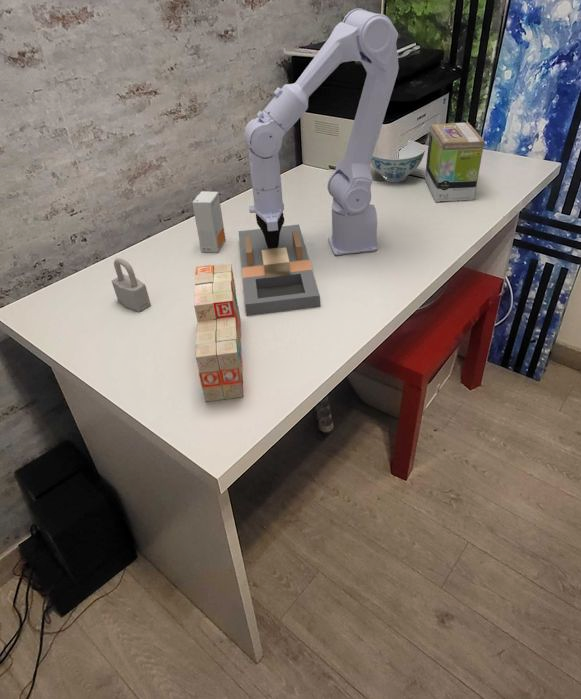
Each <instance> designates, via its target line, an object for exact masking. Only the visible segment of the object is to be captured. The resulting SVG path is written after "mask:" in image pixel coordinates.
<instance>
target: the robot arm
mask: <svg viewBox="0 0 581 699" xmlns="http://www.w3.org/2000/svg"><path fill="white" fill-rule="evenodd" d="M398 38H399V32H398V31H397V29H396V27H395V26H394V24H393V22H392V21H391V19H390V18H389V17H388V16H387V15H386V14H382V13H375V12H372V11H368V10H366V9H365V8H361V7H359V8H358V7H357V8H354V9H351V10H349V12H348V13H347V14H346V15H345V16H344V17H343V20H342V21H340V22H339V23H337V24H336V25H335V27H334V28H333V30H332V32H331V34H330V36H329V37H328V38H327V40H326V41H325V42H324V43H323V45H322V47H321V48H320V49H319V51H318V52H317V53H316V54H315V56H314V57H313V58H312V60H311V61H310V62H309V64H308V65H307V66H306V67H305V69H304V70H303V72H302V73H301V75H300V76H299V77H298V78H297V80H296V81H295V82H294V83H287V84H284V85H283V86H282V87H281V88H280V87H277V88H276V89H275V90H274V92H273V94H274V95H275V96H274V97H272V99H271V100H270V101H269V102H268V104H267V105H266V106H265V107H264V109H263V110H262V111H261V110H259V111H258V112H257V114H256V116H257V117H255V118H252V119H251V120H250V121H249V122H247V124H246V126H245V127H244V132H243V134H242V139H243V141H244V143H245V144H246V145H247V146H248V147H249V148H248V158H249V171H250V178H251V179H250V180H251V186H252V187H251V188H252V197H253V204H254V205H250V206H248V210H249V213H250V214H255V218H256V219H255V221H256V224H257V226H258V227H259V229H261V230H262V232H263V234H264V237H265V241H266V244H267V247H268V249H272V248H278V245H279V237H280V231H281V228H282V226H284V224H285V216H284V210H285V204H284V200H283V188H282V177H281V165H280V159H279V151H280V150H281V149H282V145H283V138H284V136H286V135H287V133H288V132H289V131H290V130H291V129H292V127H293V126H294V125H295V124H296V123H297V121H299V119H300V118H301V117H302V116H303V115H304V113H306V111H307V110H308V109H309V97H310V96H311V95H312V94H313V93H314V92H315V91H316V90H317V89H318V88H319V87H320V86H321V85H322V84H323V82H325V81H326V79H327V78H328V77H329V76H330V75H331V74H332V73H333V72H334V71H335V70H336V69H337V68H338V67H339V65H340V64H343V63H348V62H352V61H353V62H354V61H360V63H361V64H362V66H363V68H364V70H365V72H366V77H365V79H364V80H365V81H364V83H363V84H364V85H363V88H362V91H361V95H360V99H359V102H358V107H357V110H356V113H355V117H354V120H353V125H352V128H351V132H350V135H349V140H348V142H347V145H346V146H347V147H346V149H345V153H344V156H343V158H341V160H339V161H338V162H337V164H336V167H335V170H334V172H333V173H332V174H331V175H330V177H329V179H328V181H327V192H328V193H329V195H330V196H331V197H332V204H331V228H332V229H331V234H332V235H331V236H329V237H328V244H329V245H330V248H331V250H332V253H333V255H334V256H340V255H348V254H349V255H350V254H360V253H367V252H375V251H377V250H378V247H377V241H378V240H377V238H378V237H377V236H378V235H377V234H378V217H377V216H378V215H377V214H378V213H377V210H376V209H377V208H376V206H375V205H374V204H370V203H371V200H372V190H371V189H372V183H373V175H372V171H371V160H372V156H373V153H374V150H375V146H376V143H377V142H378V139H379V137H380V133H381V130H382V127H383V123H384V120H385V117H386V113H387V109H388V106H389V103H390V101H391V97H392V93H393V90H394V86H395V83H396V81H397V80H396V79H397V77H398V73H399V69H400V66H399V57H398V48H397V40H398Z"/></svg>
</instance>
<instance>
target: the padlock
mask: <svg viewBox="0 0 581 699" xmlns="http://www.w3.org/2000/svg"><path fill="white" fill-rule="evenodd" d="M113 266H114V269H115V270H114V271H115V273H116V276H117V277H116V278H113V279H112V280H111V284H112V287H113V289H114V292H115V295H116V298H117V301H118V302H119V303H120V304H122V305H123V306H124V307H125V308H127V309H130V310H133V311H136V312H140V313H141V312H142V311H144V310H145V309H147V308H148V307H150V306H151V303H152V302H151V300H150V297H149V294H148V290H147V286H146V284H145V283H143V282H142V281H141V280H140V279H138V278H137V277H136V274H135V272H134V269H133V267H132V266H131V264H130V263H129V262H128V261H127V260H125V259H124V258H120V257H118V258H117V257H116V258H115V259H114V261H113ZM121 266H122V267H124V269H125V270H126V272H127V274H128V275H127V274H124V273H123V271H122V267H121Z"/></svg>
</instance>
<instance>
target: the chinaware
mask: <svg viewBox="0 0 581 699" xmlns="http://www.w3.org/2000/svg"><path fill="white" fill-rule="evenodd" d="M425 152H426V147H425V146H424V145H423V144H422V143H420V142H419V141H418V142H417V141H413V140H410V139H408V143H407V146H405V147H404V148H402V149H401V150H400V151H399V159H387V158H381V157H377V156H374V155H373V156H372V160H371V163H372V164H371V163H370V164H371V166H372V165H373V166H372V168H373V167H374V168H375V169H376V170H377V171H378V172H379V173H380V174H382V175H383V176H385V177H387V180H388V181H387V182H390V181H391V182H392V183H397V182H403V181H404V180H407V178H408V176H409V175H410V174H412V173H413V172H414V171H415V170H416V169H418V167H419V166H420V164H421V163H422V161H423V158H424V155H425ZM374 168H373V169H374ZM375 169H374V170H375ZM376 170H375V171H376ZM377 171H376V172H377ZM378 172H377V173H378ZM379 173H378V174H379ZM380 174H379V175H380ZM382 175H381V176H382Z"/></svg>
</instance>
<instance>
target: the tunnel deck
mask: <svg viewBox="0 0 581 699" xmlns="http://www.w3.org/2000/svg"><path fill="white" fill-rule="evenodd" d="M238 242H239V250H240V251H239V254H240V263H241V273H242V276H241V277H242V286H243V296H244V307H245V313H246V314H245V315H246V316H254V315H262V314H263V315H264V314H270V313H277V312H286V311H287V312H288V311H295V310H302V309H303V310H304V309H311V308H318V307H321V298H320V297H321V295H320V292H319V288H318V284H317V282H316V278H315V274H314V270H313V267H312V265H311V262H310V258H309V254H308V250H307V247H306V243H305V240H304V238H303V234H302V230H301V227H300V224H291V225H282V228H281V231H280V237H279V245H278V248H284V247H286V249H287V254H288V258H289V263H290V275H288V276H280V277H271V278H265V272H264V266H263V258H262V250H267V249H268V247H267V244H266V241H265V237H264V234H263V232H262V230H261V229H260V228H256V229H246V230H240V231H238ZM272 249H276V248H272Z"/></svg>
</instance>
